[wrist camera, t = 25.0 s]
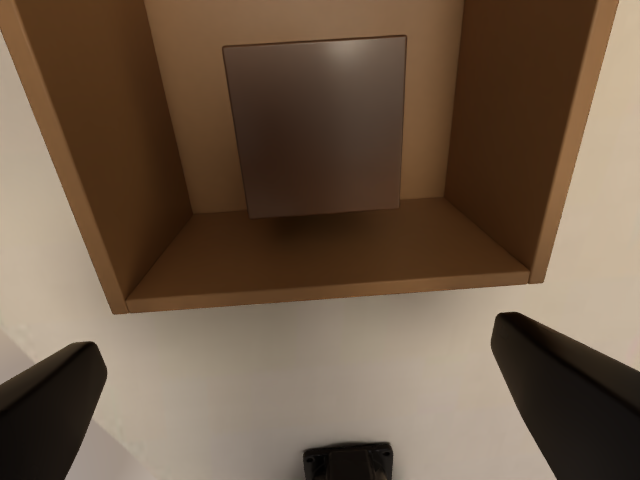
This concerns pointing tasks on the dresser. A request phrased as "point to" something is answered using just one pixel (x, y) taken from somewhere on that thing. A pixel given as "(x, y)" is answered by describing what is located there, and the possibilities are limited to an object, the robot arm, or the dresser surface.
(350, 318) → the dresser surface
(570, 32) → the carton
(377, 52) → the block
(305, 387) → the dresser surface
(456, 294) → the dresser surface
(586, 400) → the robot arm
